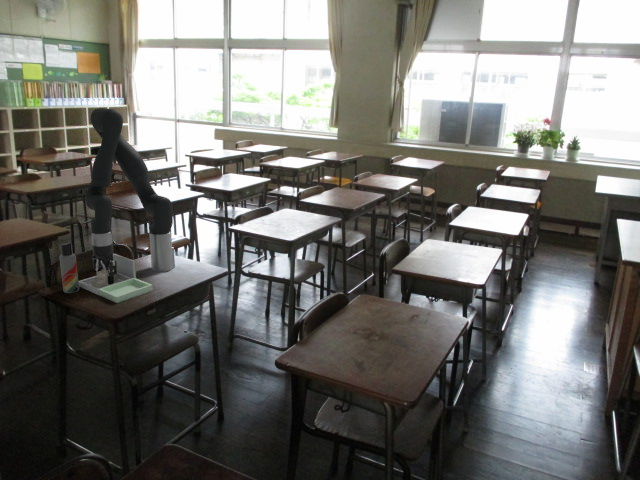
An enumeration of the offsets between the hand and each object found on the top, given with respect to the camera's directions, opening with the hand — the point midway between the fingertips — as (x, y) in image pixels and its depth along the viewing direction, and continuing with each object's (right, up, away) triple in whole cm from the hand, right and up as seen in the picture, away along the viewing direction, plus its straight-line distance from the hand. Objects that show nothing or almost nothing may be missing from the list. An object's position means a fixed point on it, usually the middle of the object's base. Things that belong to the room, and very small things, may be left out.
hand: (105, 281), depth 208 cm
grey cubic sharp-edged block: (0, 0, +5) cm, 5 cm away
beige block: (0, -2, -1) cm, 2 cm away
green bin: (+11, -4, -7) cm, 14 cm away
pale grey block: (0, -3, -5) cm, 6 cm away
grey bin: (0, -2, +1) cm, 2 cm away
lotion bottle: (-11, -4, -6) cm, 13 cm away
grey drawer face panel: (+5, 0, +7) cm, 9 cm away
